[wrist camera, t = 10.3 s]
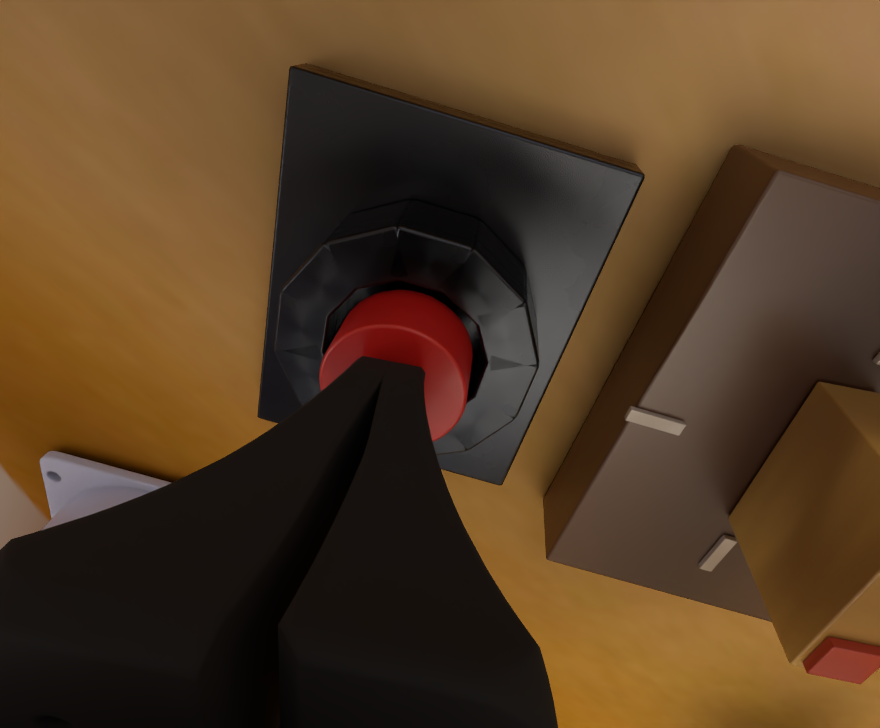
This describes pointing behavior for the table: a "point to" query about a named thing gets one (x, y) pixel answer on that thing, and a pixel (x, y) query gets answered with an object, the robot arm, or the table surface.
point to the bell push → (435, 245)
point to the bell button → (409, 348)
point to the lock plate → (721, 378)
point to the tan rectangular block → (820, 534)
